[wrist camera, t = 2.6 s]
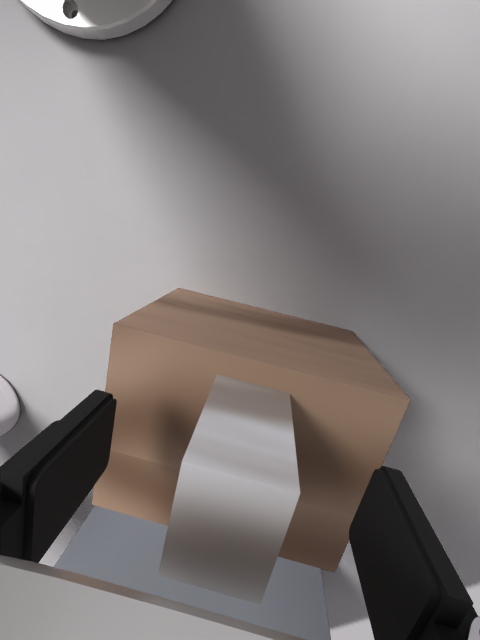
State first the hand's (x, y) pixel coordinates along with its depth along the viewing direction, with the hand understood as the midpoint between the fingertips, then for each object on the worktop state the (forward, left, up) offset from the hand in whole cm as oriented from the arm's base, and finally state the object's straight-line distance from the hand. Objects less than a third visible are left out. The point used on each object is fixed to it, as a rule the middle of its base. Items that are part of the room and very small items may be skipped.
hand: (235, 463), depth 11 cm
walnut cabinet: (+2, 0, -11) cm, 11 cm away
